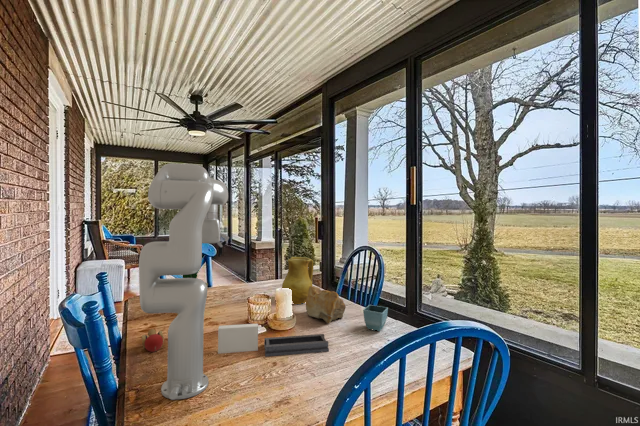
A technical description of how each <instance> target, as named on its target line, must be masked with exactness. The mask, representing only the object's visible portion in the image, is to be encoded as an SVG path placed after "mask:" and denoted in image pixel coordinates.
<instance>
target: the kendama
mask: <svg viewBox="0 0 640 426" xmlns="http://www.w3.org/2000/svg"><path fill="white" fill-rule="evenodd" d="M157 332H158V333H157ZM141 341H142V348H143V350H146V351H148V352H151V353H154V352H157V351H159V350H160V349H161V348H162V346H163V344H164V342H165V340H164V333H163V330H159V331H157V330H156V329H154V328H151V329H149V330H148V332H147V335H146V334H143V335H141Z"/></svg>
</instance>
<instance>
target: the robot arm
mask: <svg viewBox="0 0 640 426" xmlns="http://www.w3.org/2000/svg"><path fill="white" fill-rule="evenodd" d="M147 197H148V198H147V199H148V202H149V204H150V205H151V207H153V208H155V209H157V210H179V211H178V212H177V213H176V214H175V215H174V217H173V218H172V219H171V221H170V222H169V226H168V229H169V233H168V235H169V239H168V241H163V240H162V241H151V242H147V243H145V244H144V246H143V247H142V248H141V251H140V253H139V258H138V280H139V281H138V282H139V283H138V287H139V288H138V289H139V292H138V293H139V305H140V309H141V311H142V312H144V313H146V314H154V315H155V314H170V313H171V314H177V313H178V316H176V317H175V318H173V320H172V321H171V322H170V324H169V326H168V329H167V375H166V376H167V380H166V381H164V382H163V383H162V385H161V387H160V391H161V394H162V396H163V397H164V398H167V399H170V400H172V401H174V400H183V399H184V400H185V399H188V398H192V397H195V396H197V395H199V394H201V393H202V392H203V391H205V390H206V388H208V386H209V377H208V376H207V374H204V332H205V331H204V330H205V329H204V328H205V327H204V325H205V311H206V302H207V297H208V285H206V283H207V282H206V283H205V280H202V279H200V278H198V277H197V278H198V279H197V278H183V277H178V278H177V277H175V278H160V277H161V276H181V275H189V274H194V273H196V272H198V273H199V271H200V270H199V269H201V267H202V260H203V258H202V256H203V248H202V247H203V244H217V246H218V251H217V253H218V257H221V255H223V247H224V246H225V245H226V244H227V243H228V241H229V239H230V237H229V235H226V234H224V233H222V232H221V225H220V224H221V223H220V220H219V219H218V209H219V207H218V206H222V205H226V204H227V202H228V200H229V191H228V188H227V185H226V184H225V183H224V182H223V181H221V180H218V179H215V178H213V177H210V175H209V172H208V171H207V169H206V168H204V167H203V166H202V165H199V164H193V163H176V162H175V163H173V162H172V163H171V162H170V163H167V164H164V165H163V166H162V167H161V168H160V169H159V170H158V172H157V173H156V174H155V176H154V178H153V179H152V180H151V183H150V185H149V187H148V193H147ZM221 237H222V238H223V239H224V240H223V242H221Z"/></svg>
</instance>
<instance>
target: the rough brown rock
mask: <svg viewBox="0 0 640 426" xmlns="http://www.w3.org/2000/svg"><path fill="white" fill-rule="evenodd" d="M346 307H347V306H346V303H345V302H344V299H342V298H340V295H339V294H338V293H337V291H333V290H332V291H330V290H328V289H327V290H326V289H322V290H321V288H320V287H318V286H313V285H312V286H310V287H309V291H308V297H307V299H306V304H305V309H306V313H307V315H308V316H309V317H311V318H315V319H322V320H323V321H324V323H326V324H330V323H331V322H333V321H335V320H337V319H338V318H342V319H343V317H344V313H345V311H346ZM332 320H333V321H332Z"/></svg>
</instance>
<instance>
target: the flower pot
mask: <svg viewBox="0 0 640 426" xmlns="http://www.w3.org/2000/svg"><path fill="white" fill-rule="evenodd" d="M362 311H363V319H364V321H363V322H364V323H365V326H366V328H367V330H369V329H373V330H372V331H375V330H377V331H376V332H380V331H381V330H382V329H383V328H384V326H385V324H386V322H387V320H388V311H389V307H386V306H380V305H373V304H368V305H367V306H366V307H365V308H363V310H362Z"/></svg>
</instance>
